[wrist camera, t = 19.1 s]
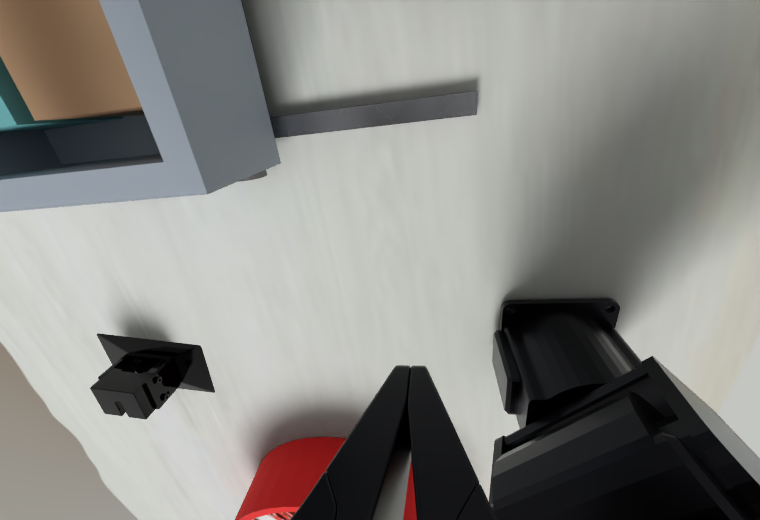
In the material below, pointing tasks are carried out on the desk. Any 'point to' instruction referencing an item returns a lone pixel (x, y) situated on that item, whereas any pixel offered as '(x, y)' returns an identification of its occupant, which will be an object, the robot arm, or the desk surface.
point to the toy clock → (297, 479)
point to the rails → (376, 114)
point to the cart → (155, 116)
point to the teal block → (10, 113)
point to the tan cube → (65, 60)
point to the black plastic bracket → (147, 374)
